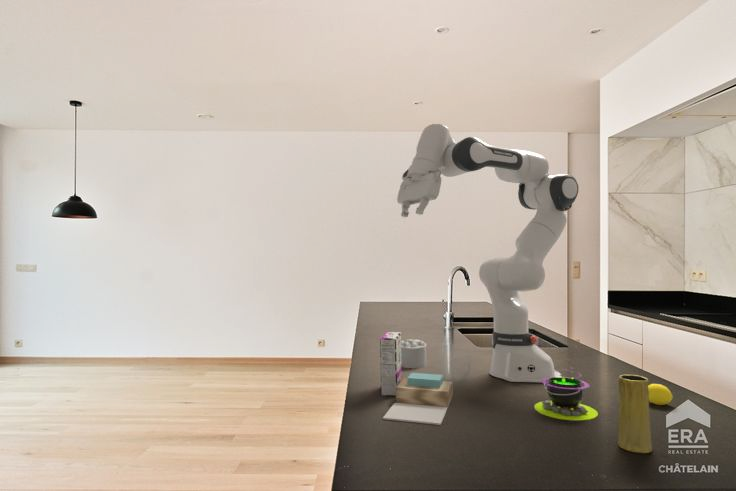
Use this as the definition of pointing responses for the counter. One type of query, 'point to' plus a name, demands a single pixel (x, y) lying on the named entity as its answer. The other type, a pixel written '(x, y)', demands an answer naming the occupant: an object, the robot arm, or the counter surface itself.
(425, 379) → the teal rectangular block
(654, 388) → the lemon
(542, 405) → the toy cauldron
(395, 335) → the candy bar box
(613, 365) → the counter surface
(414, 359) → the lumpy-topped squat cylinder
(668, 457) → the counter surface
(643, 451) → the vase
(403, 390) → the wooden block
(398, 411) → the mat
